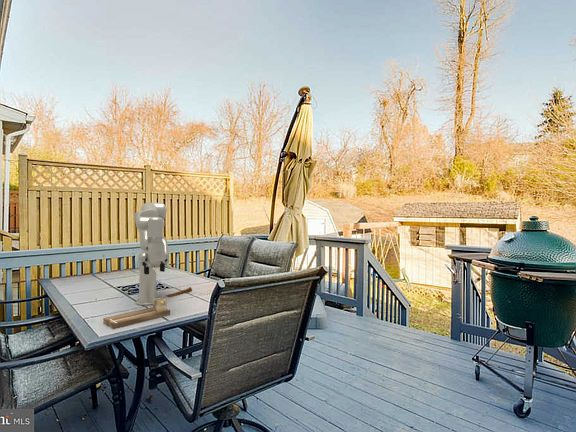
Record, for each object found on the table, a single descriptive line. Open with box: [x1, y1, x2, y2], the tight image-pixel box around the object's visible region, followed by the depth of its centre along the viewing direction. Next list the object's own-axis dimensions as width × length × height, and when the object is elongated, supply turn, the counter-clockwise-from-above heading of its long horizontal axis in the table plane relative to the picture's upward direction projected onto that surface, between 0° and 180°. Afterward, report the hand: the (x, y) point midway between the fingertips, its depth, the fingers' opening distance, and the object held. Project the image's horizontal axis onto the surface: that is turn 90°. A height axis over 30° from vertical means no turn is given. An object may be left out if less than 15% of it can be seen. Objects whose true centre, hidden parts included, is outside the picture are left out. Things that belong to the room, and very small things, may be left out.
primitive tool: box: [165, 286, 193, 298], centre depth 215 cm, size 19×6×4 cm, turn 148°
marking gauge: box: [152, 297, 167, 312], centre depth 170 cm, size 8×5×6 cm, turn 51°
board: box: [102, 306, 171, 330], centre depth 163 cm, size 12×29×3 cm, turn 141°
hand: (154, 272), depth 167 cm, fingers open, 9 cm apart
